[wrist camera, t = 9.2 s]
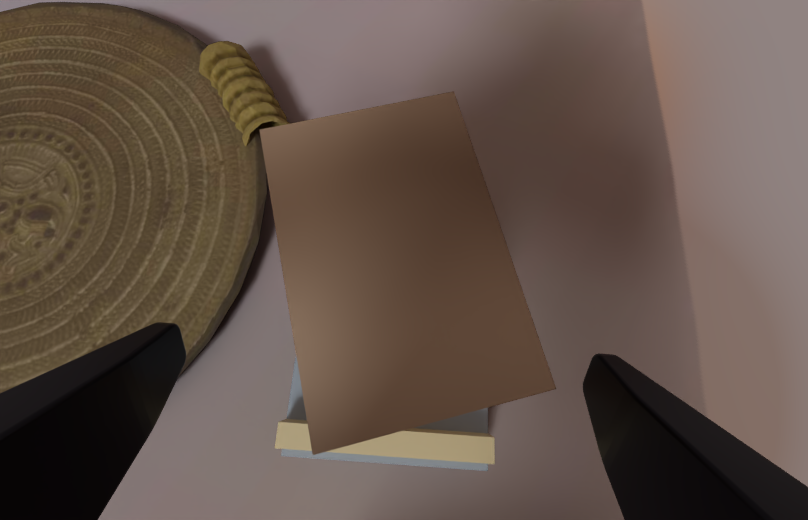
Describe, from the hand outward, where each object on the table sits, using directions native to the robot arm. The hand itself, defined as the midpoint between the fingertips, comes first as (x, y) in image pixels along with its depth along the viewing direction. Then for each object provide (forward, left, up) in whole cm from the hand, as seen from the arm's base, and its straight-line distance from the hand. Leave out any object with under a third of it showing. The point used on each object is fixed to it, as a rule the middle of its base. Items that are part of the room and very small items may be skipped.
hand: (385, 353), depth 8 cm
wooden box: (+1, -1, -10) cm, 10 cm away
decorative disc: (+17, +15, -13) cm, 26 cm away
